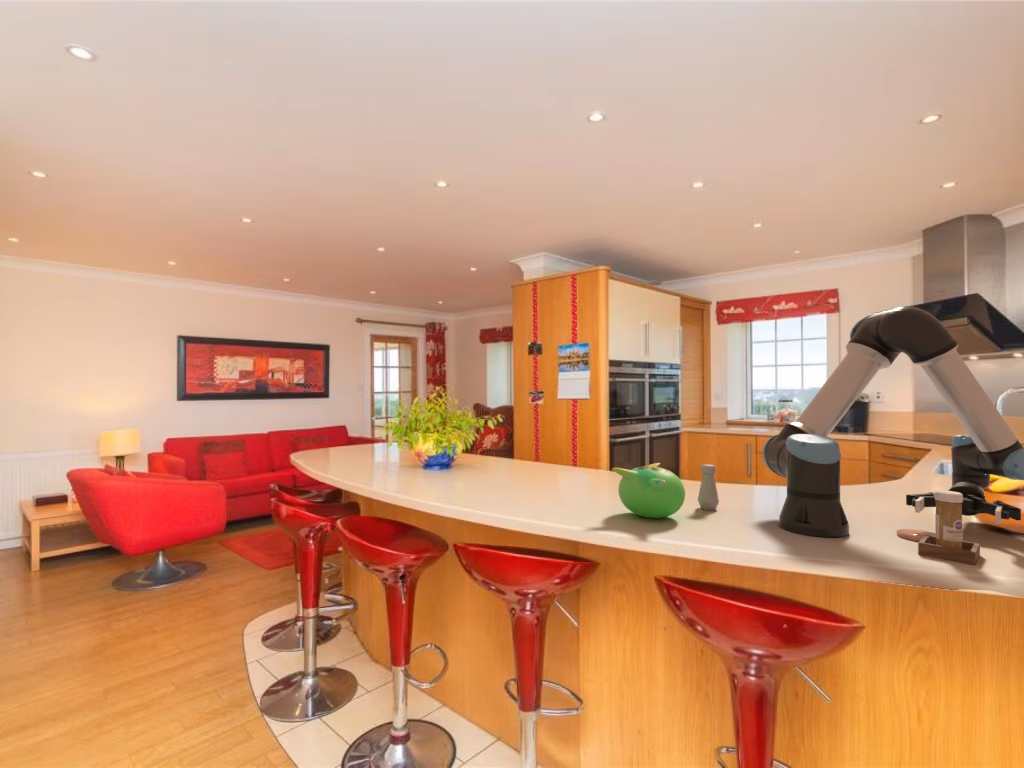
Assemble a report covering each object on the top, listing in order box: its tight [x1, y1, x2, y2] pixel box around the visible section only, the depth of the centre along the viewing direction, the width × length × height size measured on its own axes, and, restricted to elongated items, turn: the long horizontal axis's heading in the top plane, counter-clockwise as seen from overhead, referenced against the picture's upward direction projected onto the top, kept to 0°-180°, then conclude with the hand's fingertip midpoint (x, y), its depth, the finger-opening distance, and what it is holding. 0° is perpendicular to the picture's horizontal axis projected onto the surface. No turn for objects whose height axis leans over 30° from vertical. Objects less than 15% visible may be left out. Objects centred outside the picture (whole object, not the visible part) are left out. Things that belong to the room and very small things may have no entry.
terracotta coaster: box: [896, 528, 936, 543], centre depth 120 cm, size 9×9×1 cm
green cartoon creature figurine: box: [611, 462, 686, 519], centre depth 138 cm, size 18×17×15 cm
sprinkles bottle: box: [934, 490, 964, 549], centre depth 107 cm, size 5×5×14 cm
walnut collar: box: [917, 535, 981, 566], centre depth 107 cm, size 9×9×2 cm
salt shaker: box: [697, 463, 720, 511], centre depth 149 cm, size 6×6×13 cm
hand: (955, 511), depth 113 cm, fingers open, 13 cm apart
